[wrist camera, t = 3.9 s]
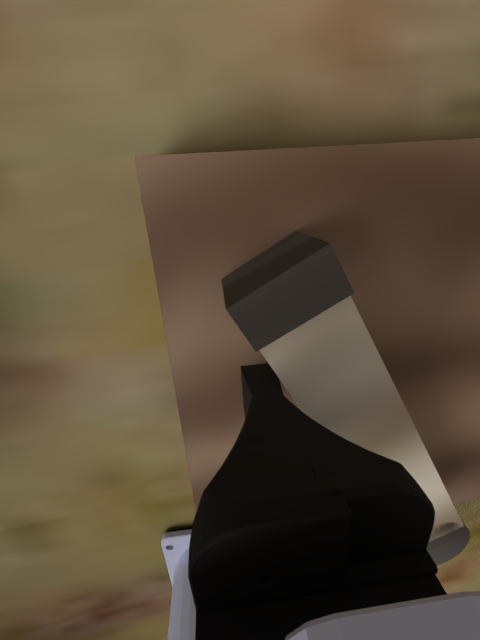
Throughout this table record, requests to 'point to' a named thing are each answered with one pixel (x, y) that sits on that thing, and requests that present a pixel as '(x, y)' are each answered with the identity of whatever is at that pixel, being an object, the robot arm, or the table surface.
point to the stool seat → (357, 262)
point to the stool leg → (334, 363)
